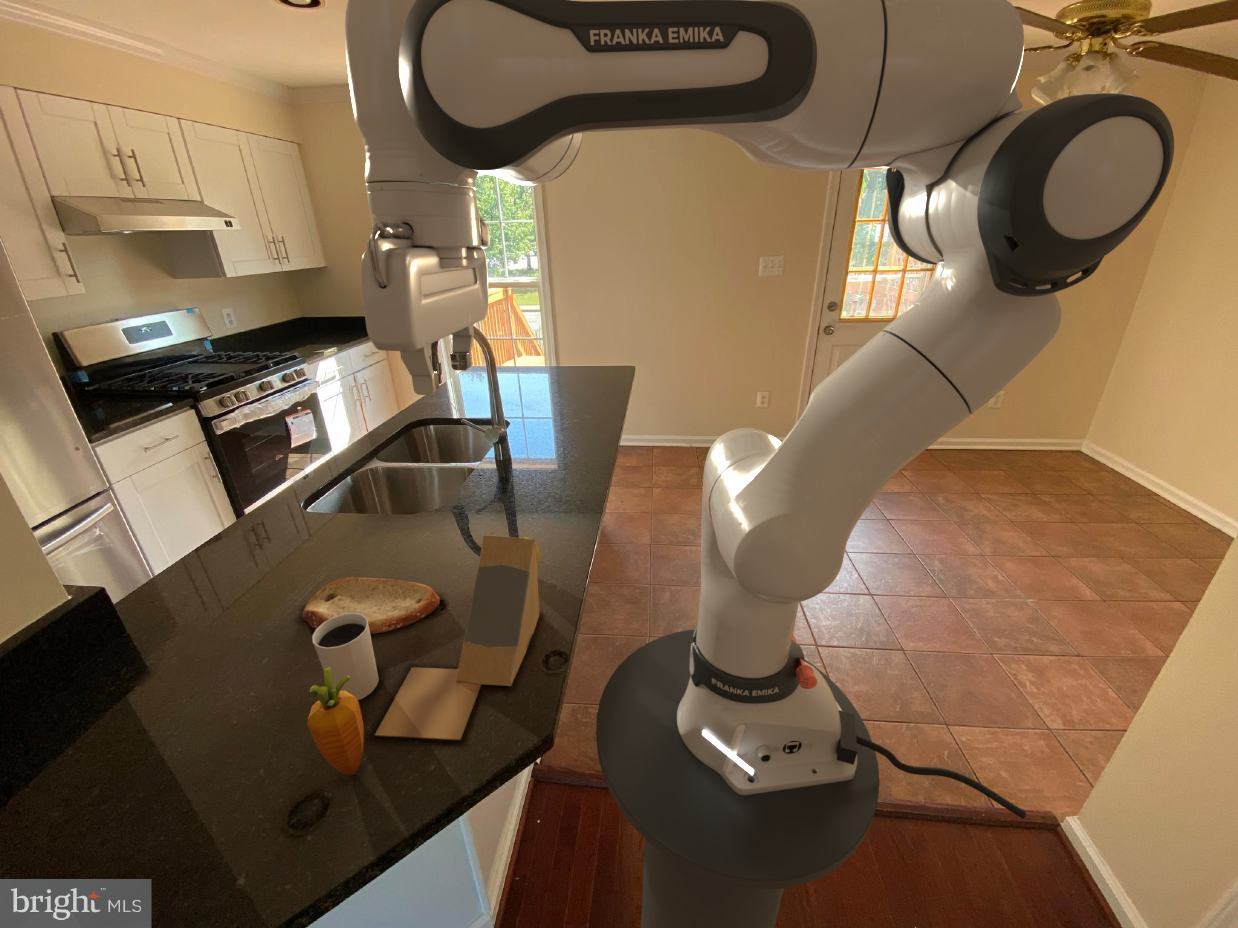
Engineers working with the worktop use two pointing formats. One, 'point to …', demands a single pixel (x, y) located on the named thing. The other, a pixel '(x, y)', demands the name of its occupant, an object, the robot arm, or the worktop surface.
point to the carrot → (337, 725)
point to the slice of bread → (372, 602)
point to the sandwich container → (500, 611)
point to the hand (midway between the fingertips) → (446, 380)
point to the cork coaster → (430, 706)
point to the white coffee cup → (348, 653)
